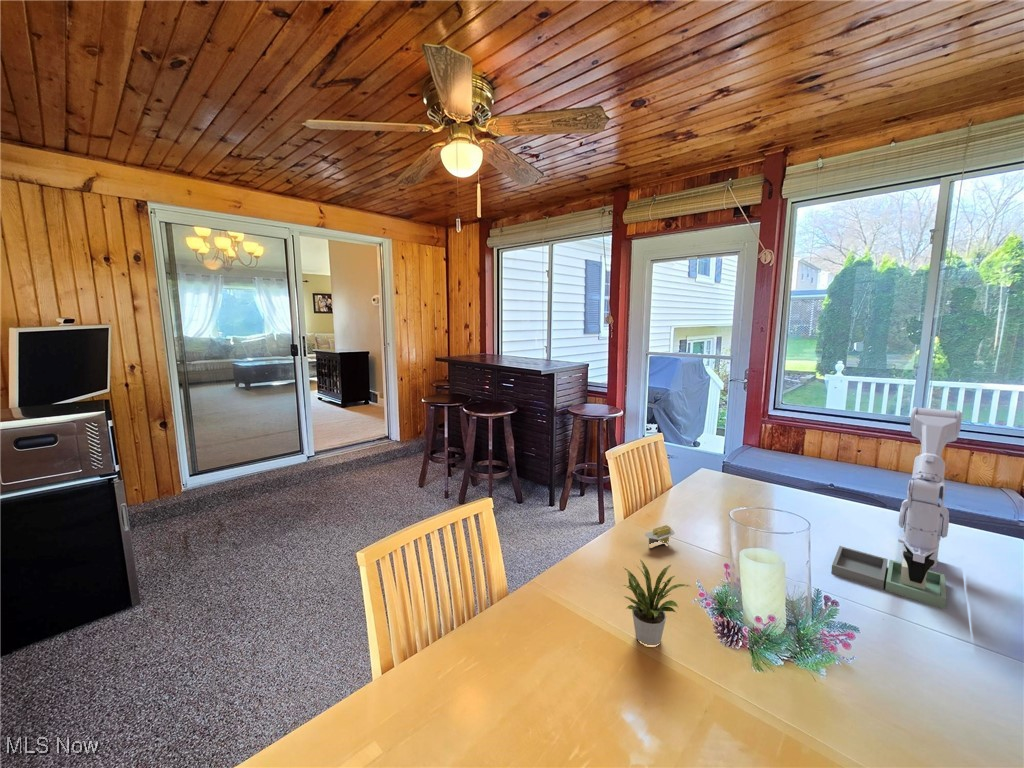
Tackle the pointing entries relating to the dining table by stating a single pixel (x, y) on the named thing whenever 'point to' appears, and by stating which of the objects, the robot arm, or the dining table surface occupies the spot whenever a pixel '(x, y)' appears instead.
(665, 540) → the platform
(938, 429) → the robot arm
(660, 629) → the house plant
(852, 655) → the dining table surface
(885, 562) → the tray
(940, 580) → the tray
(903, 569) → the stone block
